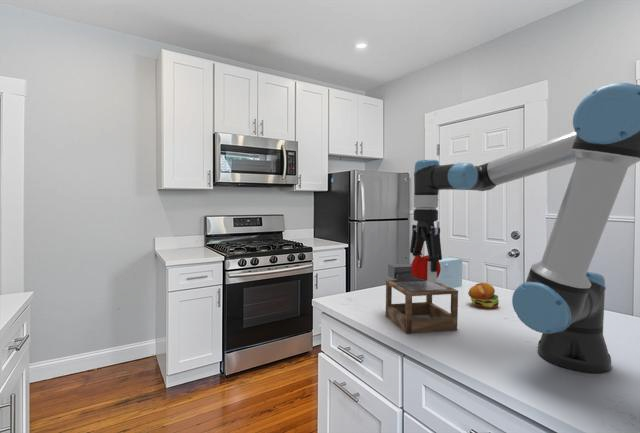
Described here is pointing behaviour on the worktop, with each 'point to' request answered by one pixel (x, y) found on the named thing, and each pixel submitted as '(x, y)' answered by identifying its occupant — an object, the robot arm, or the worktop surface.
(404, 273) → the trapdoor
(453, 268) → the light blue box
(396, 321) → the frame
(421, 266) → the tomato
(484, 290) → the cheeseburger
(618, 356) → the worktop surface
